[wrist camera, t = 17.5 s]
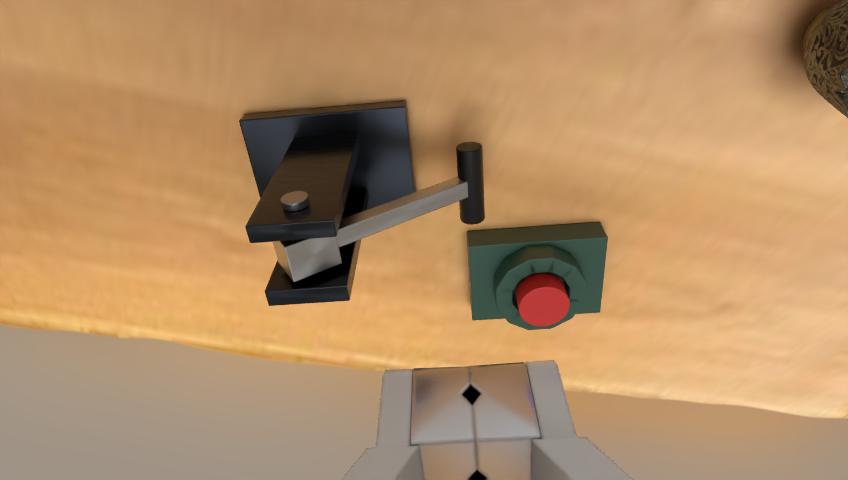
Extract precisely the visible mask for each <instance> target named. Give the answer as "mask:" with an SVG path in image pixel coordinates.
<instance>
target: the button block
mask: <svg viewBox="0 0 848 480" xmlns="http://www.w3.org/2000/svg"><path fill="white" fill-rule="evenodd" d="M607 240H608V237H607V235H606V233H605V231H604V229H603V227H602V225H601V223H600V222H591V223H577V224H564V225H550V226H536V227H522V228H508V229H494V230H480V231H467V244H468V263H469V281H470V299H471V311H472V320H487V319H503V318H505V319H506V320H507V321H508V322H509V323H511V324H514V325H517V326H519V327H522V328H525V329H527V330H535V329H551V328H553V327H555V326H557V325H559V324H561V323H563V322H566V321H568V320H570V319H571V318H573V316H574V315H575V314H582V313H597V312H600V307H601V298H602V288H603V278H604V269H605V259H606V249H607ZM537 273H549V274H552V275H554V276H556V277H558V278H559V279H560V280H561V281H562V282H563V284H564V286H565V289H566V292H567V295H568V298H569V302H570V306H569V310H568V312H567V314H566V316H565V317H564V318H563V319H562V320H560V321H559V322H557V323H555V324H553V325H549V326H534V325H531V324H529V323H527V322H526V321H524V320H523V319H522V317H521V316H520V314H519V310H518V305H517V301H516V289H517V287H518V285H519V284H520V283H521V281H522V280H524V279H525V278H526V277H528V276H530V275H533V274H537Z"/></svg>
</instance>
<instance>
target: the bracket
mask: <svg viewBox="0 0 848 480" xmlns="http://www.w3.org/2000/svg"><path fill="white" fill-rule="evenodd" d="M239 122H240V126H241V129H242V133H243V137H244V140H245V144H246V147H247V151H248V155H249V158H250V162H251V166H252V169H253V173H254V176H255V180H256V184H257V187H258V191H259V195H260V198H261V199H260V201H259V202H258V204H257V206H256V208H255V210H254V212H253V213H252V215H251V217H250V219H249V221H248V223H247V224H246V231H247V234H248V237H249V241H250V243H258V242H272V241H285V240H299V239H313V238H327V237H336V236H337V233H338V229H339V226H340V222H341V219H344V218H346V217H349V216H352V215H355V214H357V213H360V212H363V211H366V210H368V209H371V208H374V207H376V206H379V205H382V204H385V203H387V202H390V201H393V200H396V199H398V198H401V197H404V196H406V195H409V194H412V193H415V192H416V185H415V176H414V166H413V157H412V147H411V138H410V129H409V119H408V110H407V102H406V101H394V102H382V103H370V104H358V105H347V106H335V107H323V108H311V109H299V110H287V111H275V112H264V113H252V114H244V115H243V117H242V118H241V119H240V120H239ZM360 243H361V239H359V240H357V241H354V242H352V243H349V244H347V245H344V246H341V247H339V251H340V256H341V261H342V263H341V264H338V265H336V266H333V267H331V268H328V269H326V270H323V271H321V272H318V273H316V274H313V275H311V276H308V277H306V278H304V279H301V280H299V281H296V282H293V280H292V279H291V278H290V277H289V275H288V274H287V273H286V271H285V270H284V269H283V267H282V266H281V265H280V264H279V262H278V260H277V263H276V265H275V268H274V270H273V272H272V275H271V277H270V280H269V282H268V285H267V287H266V290H265V294H266V297H267V301H268V304H269V306H273V305H288V304H303V303H318V302H334V301H349V300H350V295H351V290H352V285H353V280H354V274H355V269H356V264H357V259H358V254H359V248H360Z"/></svg>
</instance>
